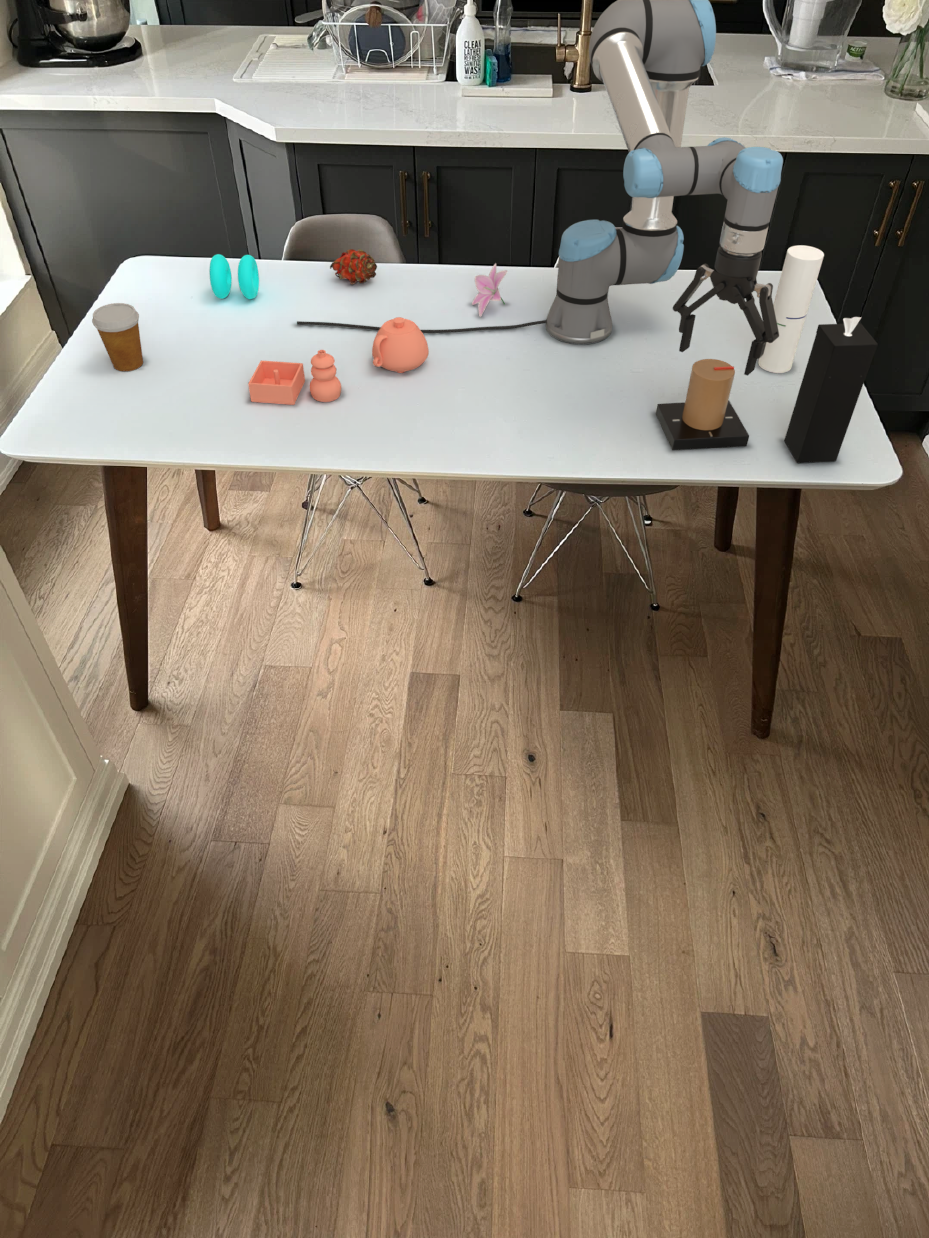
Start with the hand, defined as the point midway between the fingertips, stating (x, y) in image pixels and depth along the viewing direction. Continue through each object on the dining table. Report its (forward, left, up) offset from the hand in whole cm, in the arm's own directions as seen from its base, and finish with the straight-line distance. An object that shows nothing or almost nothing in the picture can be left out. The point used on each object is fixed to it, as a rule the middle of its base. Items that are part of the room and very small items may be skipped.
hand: (716, 360), depth 173 cm
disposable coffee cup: (-123, +5, -16) cm, 124 cm away
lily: (-49, +45, -16) cm, 69 cm away
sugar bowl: (-65, +15, -16) cm, 69 cm away
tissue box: (+21, -4, -16) cm, 26 cm away
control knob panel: (0, 0, -16) cm, 16 cm away
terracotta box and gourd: (-83, 0, -16) cm, 85 cm away
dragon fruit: (-84, +53, -16) cm, 101 cm away
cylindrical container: (+17, +29, -16) cm, 37 cm away
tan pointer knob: (0, 0, -13) cm, 13 cm away
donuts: (-110, +40, -16) cm, 118 cm away
